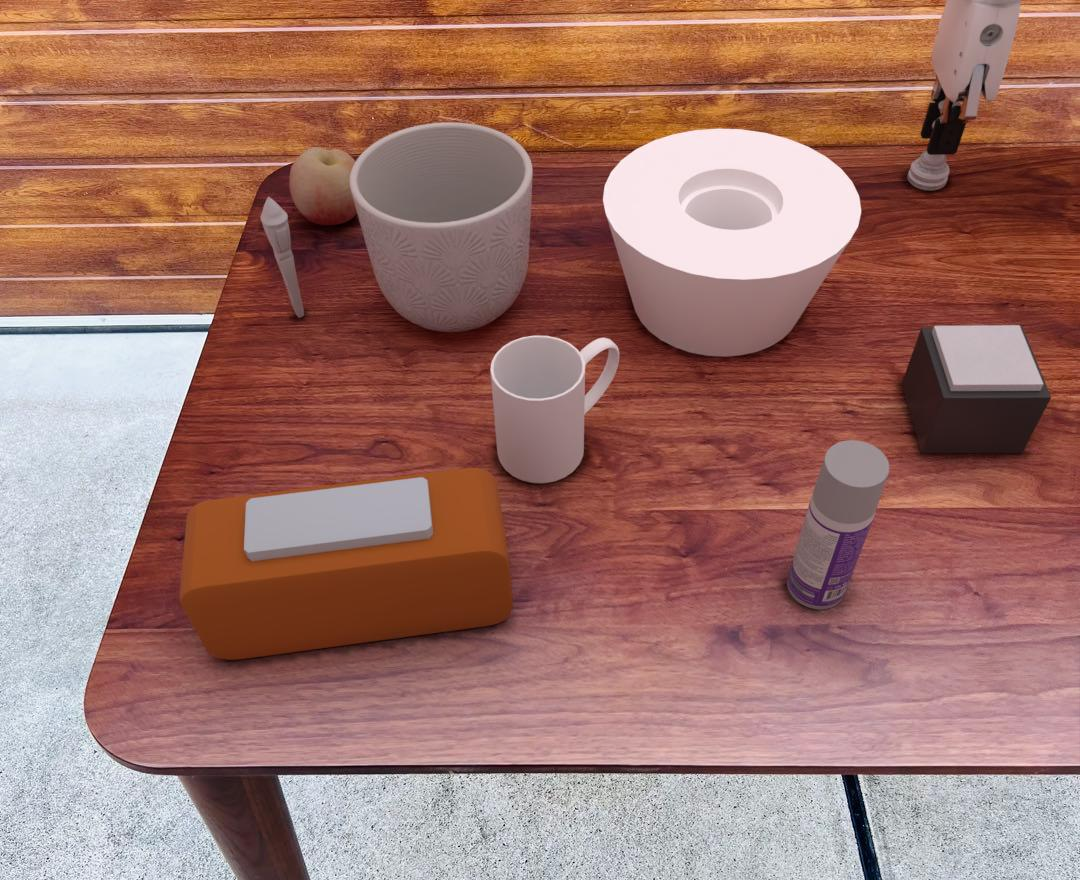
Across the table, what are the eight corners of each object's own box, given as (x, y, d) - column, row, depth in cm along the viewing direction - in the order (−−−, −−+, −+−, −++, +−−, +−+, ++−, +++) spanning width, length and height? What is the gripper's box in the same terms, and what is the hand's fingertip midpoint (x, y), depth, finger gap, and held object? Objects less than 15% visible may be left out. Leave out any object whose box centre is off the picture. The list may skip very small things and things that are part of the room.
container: (842, 564, 83) (887, 440, 71) (847, 611, 80) (895, 490, 69) (785, 561, 84) (820, 436, 72) (788, 607, 81) (825, 486, 69)
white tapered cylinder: (880, 340, 100) (913, 238, 90) (662, 408, 95) (672, 308, 85) (760, 209, 113) (778, 108, 104) (564, 262, 108) (563, 161, 99)
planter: (564, 325, 102) (563, 193, 90) (409, 377, 98) (386, 247, 86) (497, 234, 112) (488, 104, 100) (352, 279, 108) (324, 149, 96)
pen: (306, 304, 105) (275, 185, 94) (317, 318, 104) (286, 199, 93) (284, 313, 105) (250, 194, 93) (294, 327, 103) (261, 208, 92)
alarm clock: (502, 542, 86) (494, 452, 77) (515, 624, 81) (507, 537, 72) (217, 579, 84) (174, 491, 75) (211, 665, 79) (165, 581, 70)
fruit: (364, 238, 112) (351, 174, 106) (292, 238, 112) (276, 174, 106) (373, 196, 117) (361, 132, 110) (304, 196, 117) (289, 133, 111)
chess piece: (951, 176, 116) (979, 93, 108) (938, 195, 114) (966, 112, 106) (914, 165, 118) (939, 82, 110) (901, 184, 116) (925, 101, 108)
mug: (528, 498, 88) (524, 414, 80) (481, 444, 93) (472, 358, 84) (638, 440, 92) (645, 354, 84) (588, 390, 96) (590, 304, 88)
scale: (999, 383, 96) (1029, 319, 90) (1025, 453, 90) (1059, 390, 84) (901, 383, 96) (923, 319, 90) (920, 453, 91) (946, 390, 84)
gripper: (1055, 10, 93) (989, 186, 108) (1009, -65, 103) (954, 106, 117) (973, 11, 93) (918, 187, 108) (935, -64, 103) (889, 107, 118)
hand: (937, 143), depth 112 cm, fingers closed on chess piece, 2 cm apart
